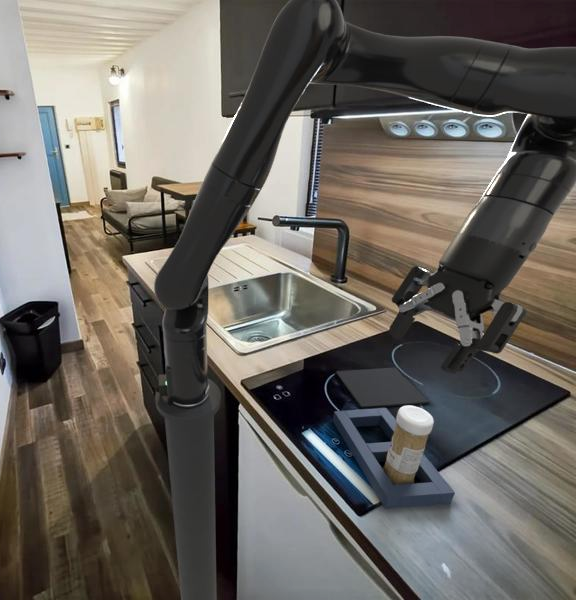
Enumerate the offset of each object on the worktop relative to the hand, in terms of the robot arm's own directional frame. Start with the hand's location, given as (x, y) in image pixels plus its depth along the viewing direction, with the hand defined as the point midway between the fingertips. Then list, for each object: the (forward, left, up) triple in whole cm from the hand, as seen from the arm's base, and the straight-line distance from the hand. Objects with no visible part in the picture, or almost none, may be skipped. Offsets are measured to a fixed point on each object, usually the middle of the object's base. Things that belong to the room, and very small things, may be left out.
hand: (419, 353), depth 49 cm
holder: (+2, +4, -24) cm, 25 cm away
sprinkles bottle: (+2, 0, -25) cm, 25 cm away
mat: (+11, +22, -24) cm, 35 cm away
